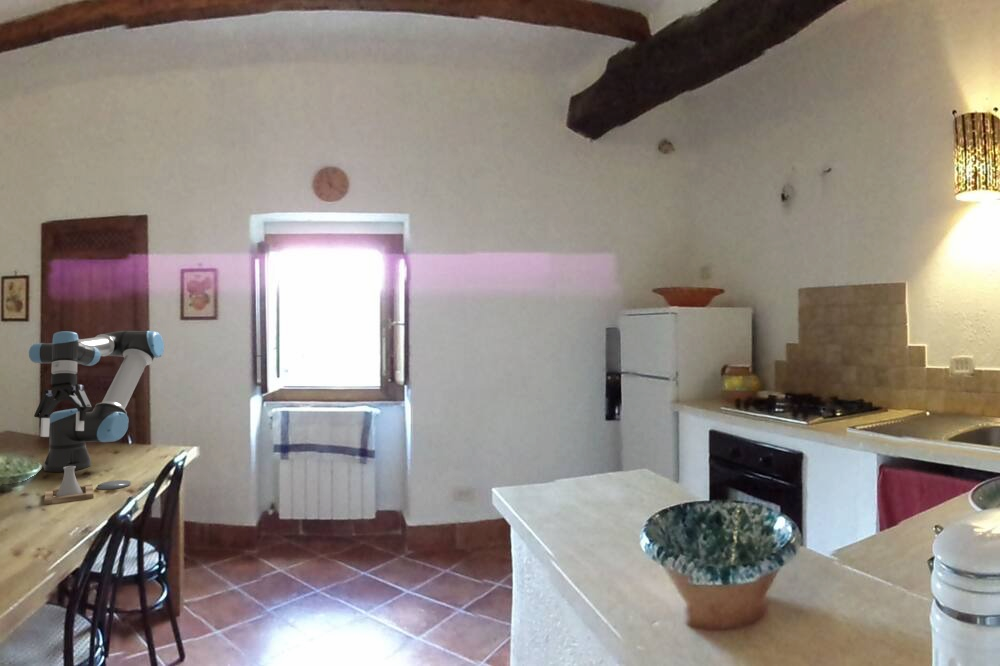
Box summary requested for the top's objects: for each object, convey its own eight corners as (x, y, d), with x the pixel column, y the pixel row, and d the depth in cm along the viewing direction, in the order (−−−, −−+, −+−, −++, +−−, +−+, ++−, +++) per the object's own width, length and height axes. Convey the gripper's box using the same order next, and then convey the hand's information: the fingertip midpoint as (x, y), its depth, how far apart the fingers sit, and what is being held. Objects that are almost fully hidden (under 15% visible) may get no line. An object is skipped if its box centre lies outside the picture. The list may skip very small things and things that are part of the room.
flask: (68, 500, 195) (68, 470, 194) (50, 498, 196) (50, 468, 196) (88, 494, 202) (87, 465, 201) (70, 492, 203) (70, 463, 203)
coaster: (106, 482, 216) (106, 480, 216) (135, 481, 217) (135, 480, 217) (91, 490, 206) (91, 488, 206) (121, 489, 207) (121, 487, 207)
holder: (45, 494, 200) (45, 490, 200) (92, 488, 208) (92, 484, 208) (44, 504, 190) (44, 500, 190) (93, 498, 197) (93, 493, 197)
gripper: (23, 378, 209) (20, 438, 204) (87, 366, 207) (85, 427, 202) (42, 381, 216) (39, 439, 211) (104, 370, 214) (103, 428, 209)
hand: (62, 433), depth 206 cm, fingers open, 13 cm apart
